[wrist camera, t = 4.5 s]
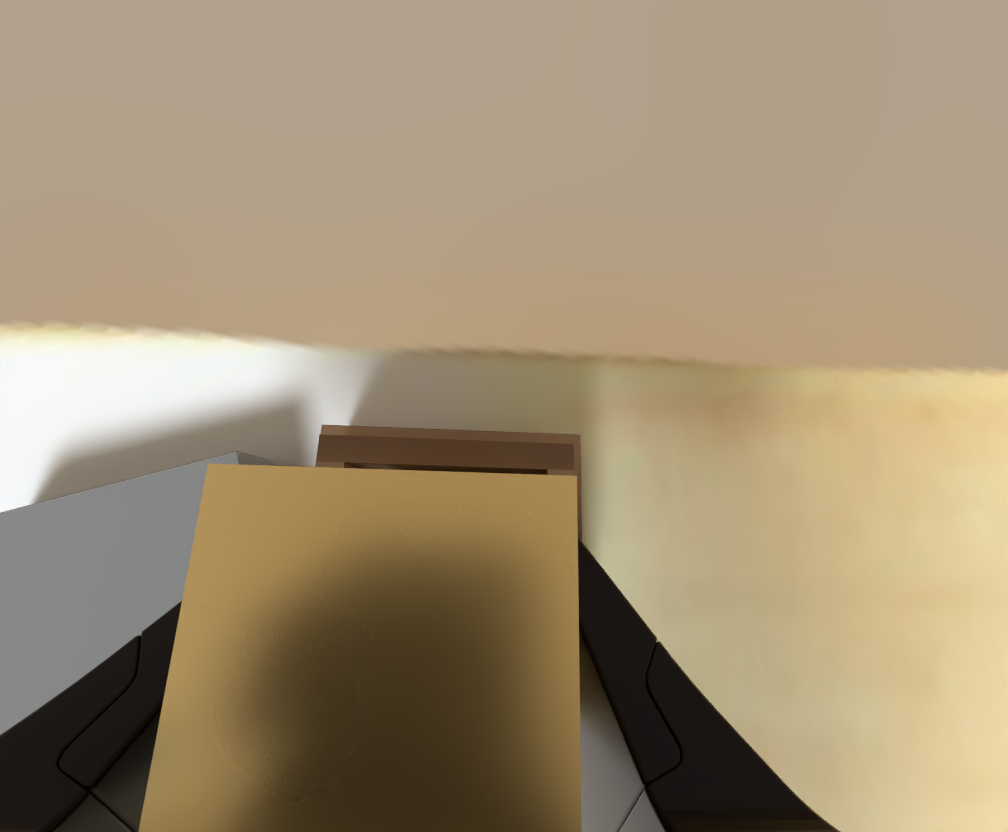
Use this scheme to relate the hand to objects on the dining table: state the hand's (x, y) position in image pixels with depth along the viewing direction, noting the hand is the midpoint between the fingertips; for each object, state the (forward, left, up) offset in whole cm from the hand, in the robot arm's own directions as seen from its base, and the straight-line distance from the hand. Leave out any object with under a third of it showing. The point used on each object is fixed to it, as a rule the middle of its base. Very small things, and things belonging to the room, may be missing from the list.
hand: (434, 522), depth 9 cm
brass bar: (-1, -1, -5) cm, 5 cm away
